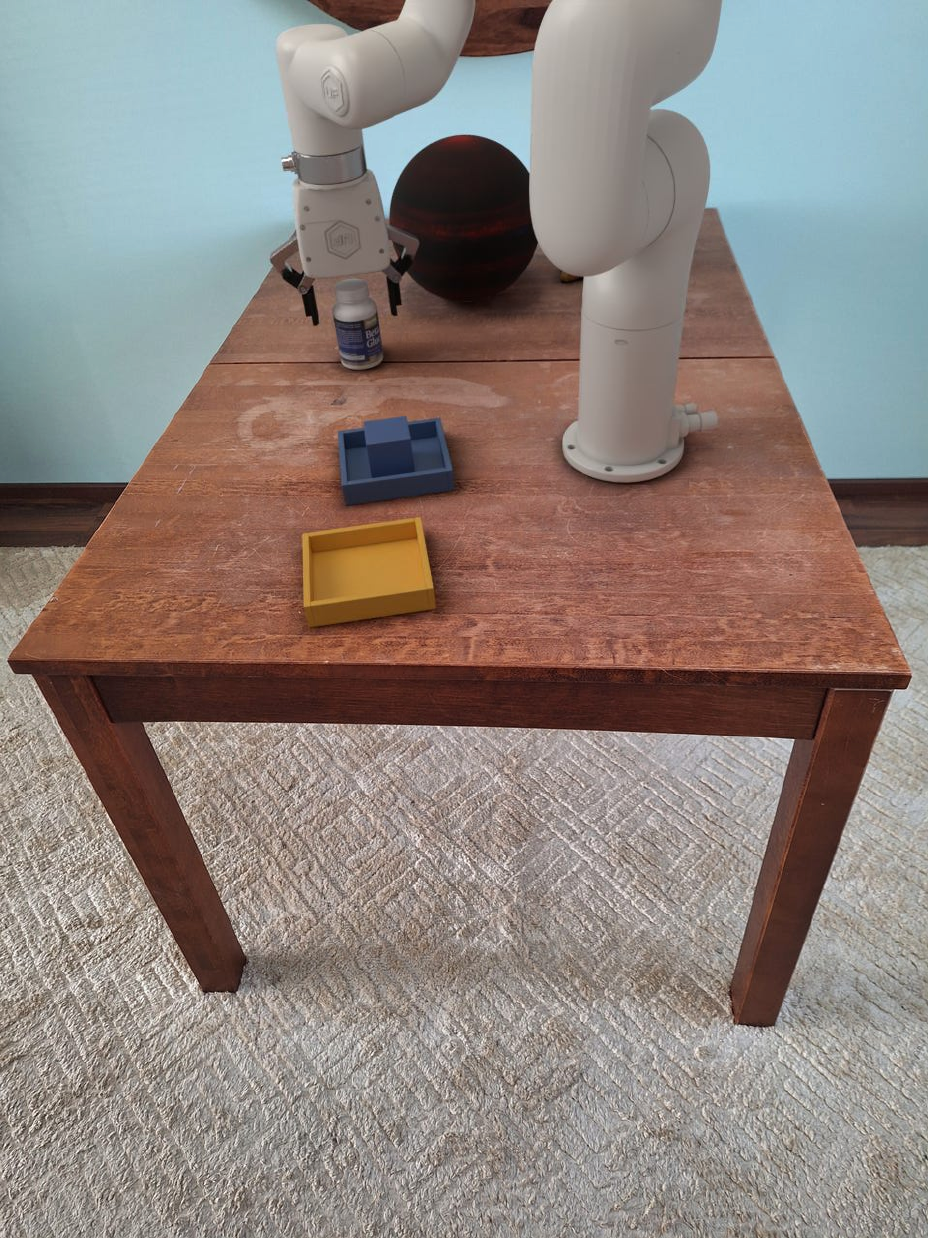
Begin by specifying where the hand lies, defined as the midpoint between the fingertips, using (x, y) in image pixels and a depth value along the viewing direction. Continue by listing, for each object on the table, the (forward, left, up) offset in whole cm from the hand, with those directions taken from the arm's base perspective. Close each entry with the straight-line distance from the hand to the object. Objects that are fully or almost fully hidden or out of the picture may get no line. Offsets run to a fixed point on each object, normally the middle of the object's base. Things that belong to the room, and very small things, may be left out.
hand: (355, 315), depth 105 cm
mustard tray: (+2, +42, -6) cm, 43 cm away
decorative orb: (-16, -15, -6) cm, 23 cm away
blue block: (-2, +25, -5) cm, 26 cm away
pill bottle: (0, 0, -6) cm, 6 cm away
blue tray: (-2, +25, -6) cm, 26 cm away
